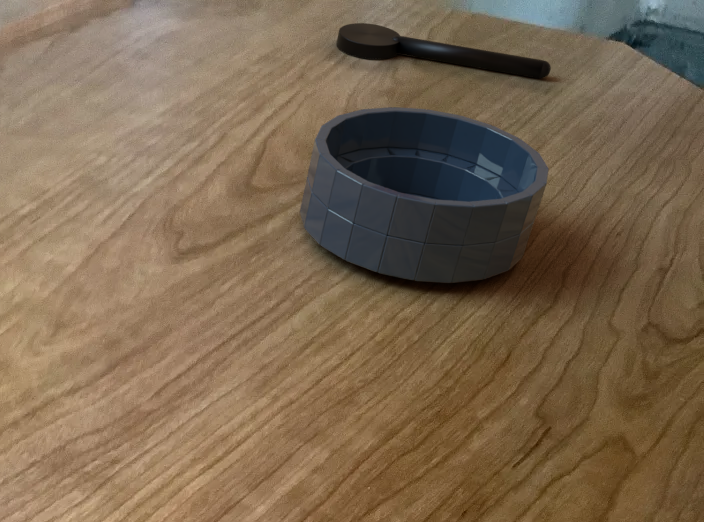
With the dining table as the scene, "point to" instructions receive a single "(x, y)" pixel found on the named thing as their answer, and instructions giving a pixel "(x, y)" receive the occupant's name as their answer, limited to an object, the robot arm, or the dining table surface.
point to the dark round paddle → (431, 51)
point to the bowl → (422, 194)
